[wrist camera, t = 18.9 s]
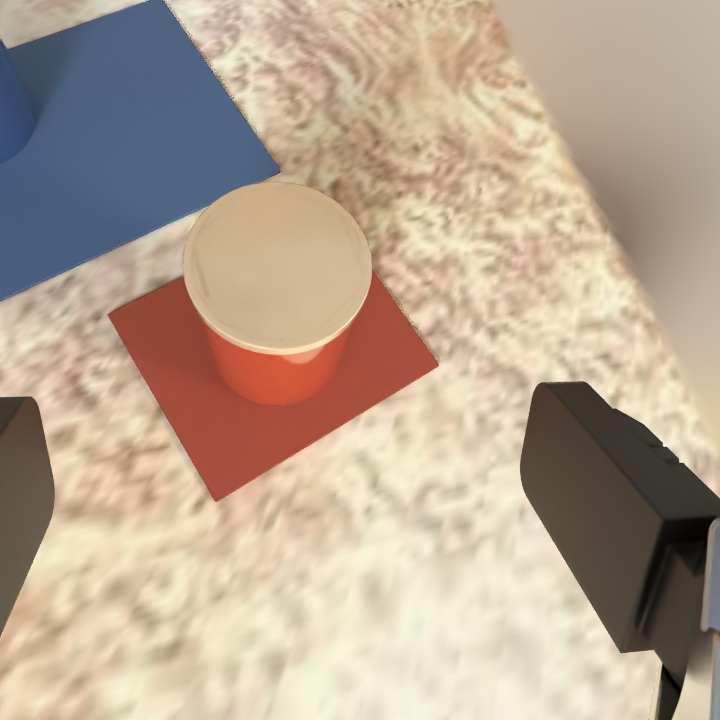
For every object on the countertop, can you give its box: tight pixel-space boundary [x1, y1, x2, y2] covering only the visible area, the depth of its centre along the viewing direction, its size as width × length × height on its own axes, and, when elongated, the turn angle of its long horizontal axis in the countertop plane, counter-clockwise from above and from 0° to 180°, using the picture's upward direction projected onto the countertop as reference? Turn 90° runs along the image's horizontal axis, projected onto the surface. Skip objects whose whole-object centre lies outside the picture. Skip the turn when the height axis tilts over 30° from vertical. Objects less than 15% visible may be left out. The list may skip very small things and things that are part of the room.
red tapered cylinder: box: [183, 182, 372, 406], centre depth 26 cm, size 7×7×8 cm
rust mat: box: [108, 270, 439, 502], centre depth 30 cm, size 12×10×1 cm
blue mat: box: [0, 0, 281, 301], centre depth 32 cm, size 16×13×1 cm
